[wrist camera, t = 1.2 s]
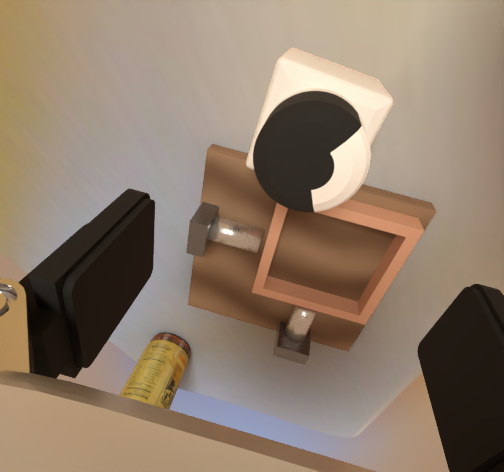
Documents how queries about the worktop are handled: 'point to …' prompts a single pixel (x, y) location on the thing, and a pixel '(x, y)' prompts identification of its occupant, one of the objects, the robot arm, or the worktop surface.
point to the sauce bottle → (158, 371)
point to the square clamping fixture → (296, 256)
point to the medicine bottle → (316, 132)
